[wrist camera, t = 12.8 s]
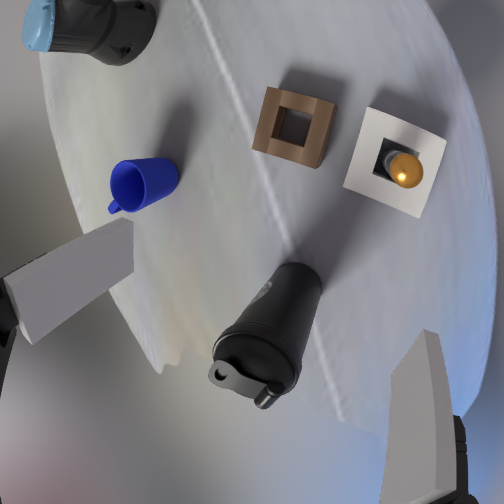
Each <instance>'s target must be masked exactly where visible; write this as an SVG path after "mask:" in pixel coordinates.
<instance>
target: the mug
mask: <svg viewBox="0 0 504 504" xmlns="http://www.w3.org/2000/svg"><path fill="white" fill-rule="evenodd" d="M177 184H178V171H177V169H176V167H175V165H174V164H173V163H172V162H171V161H170V160H168V159H165V158H147V159H134V160H124V161H121V162H119V163H118V164H117V165H116V166H115V168H114V169H113V171H112V174H111V179H110V187H111V192H112V196H113V198H114V200H113V201H112V203H111V204H110V205H109V207H108V211H109V212H110V214H114V213H116V212H119V211H121V210H124V211H127V212H136V211H138V210H140V209H142V208H144V207H146V206H148V205H150V204H152V203H154V202H156V201H158V200H160V199H162V198H164V197H166V196H167V195H169V194H171V193H172V192H173V191H174V190H175V188H176V186H177Z"/></svg>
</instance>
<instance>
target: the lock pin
mask: <svg viewBox="0 0 504 504" xmlns="http://www.w3.org/2000/svg"><path fill="white" fill-rule="evenodd" d="M381 162H382V165H383V167H384V168H385V170H386V171H387V172H388V173H389V175H390V176H391V177H392V179H393V180H394V181H395V183H396V184H397V185H399V186H400V187H402V188H406V189H410V188H414V187H416V186H417V185H419V184H420V182H421V181H422V178H423V174H424V171H423V166H422V164H421V162H420V161H419V160H418V159H417V158H416V157H415V156H413V155H410V154H407V153H404V152H401V151H398V150H394V149H389V150H386V151H385V152H384V153H383V155H382V157H381Z"/></svg>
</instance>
